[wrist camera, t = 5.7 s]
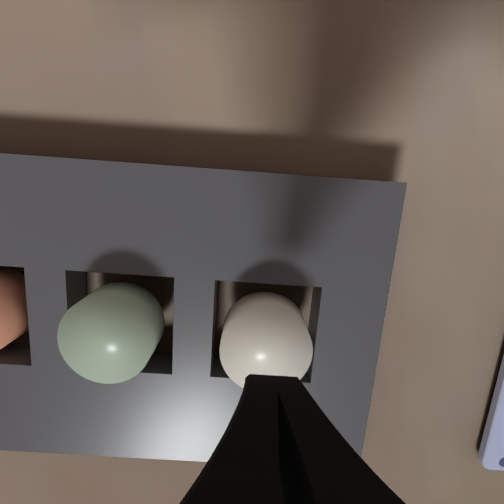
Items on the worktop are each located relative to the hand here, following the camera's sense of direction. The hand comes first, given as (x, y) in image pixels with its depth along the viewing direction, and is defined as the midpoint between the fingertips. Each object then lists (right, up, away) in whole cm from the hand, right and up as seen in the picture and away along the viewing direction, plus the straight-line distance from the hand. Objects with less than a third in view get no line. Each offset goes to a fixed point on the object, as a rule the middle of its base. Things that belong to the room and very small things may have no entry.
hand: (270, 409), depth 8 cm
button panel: (-5, +2, +6) cm, 8 cm away
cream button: (0, +1, +5) cm, 5 cm away
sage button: (-5, +1, +4) cm, 7 cm away
